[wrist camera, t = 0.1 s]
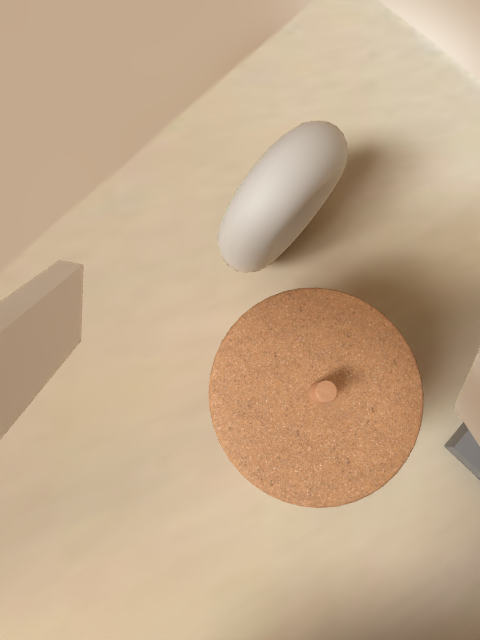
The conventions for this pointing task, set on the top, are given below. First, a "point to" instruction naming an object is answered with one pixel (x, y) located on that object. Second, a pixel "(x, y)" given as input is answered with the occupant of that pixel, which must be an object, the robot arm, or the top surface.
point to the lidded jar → (316, 397)
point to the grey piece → (282, 195)
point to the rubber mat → (465, 449)
